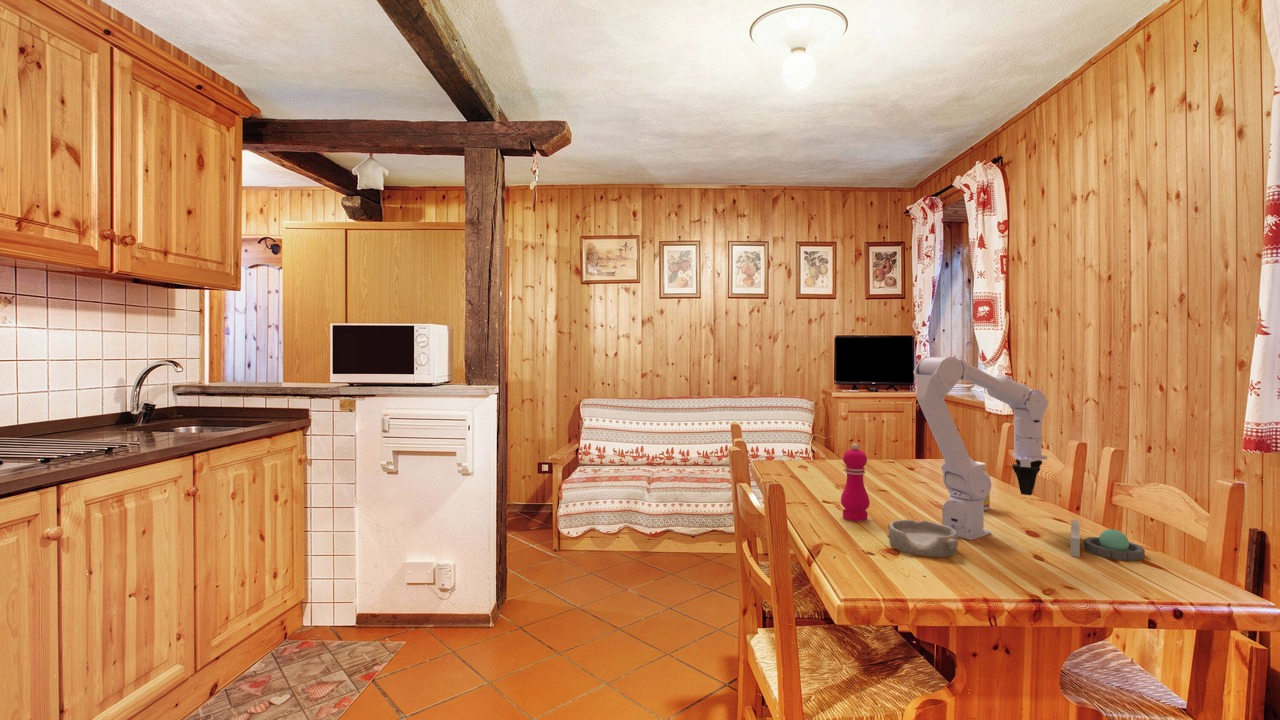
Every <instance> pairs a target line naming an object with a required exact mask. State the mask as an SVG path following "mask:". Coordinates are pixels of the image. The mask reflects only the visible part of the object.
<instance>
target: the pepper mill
mask: <svg viewBox="0 0 1280 720" xmlns="http://www.w3.org/2000/svg"><path fill="white" fill-rule="evenodd" d="M842 460H843V461H842V462H843V463H844V465H845V467H844V470H845V471H844V472H845V474H846V482H845V486H844V489H843V491H842V493H841V497H840V504H841V505H842V507H843V508H844V509H843V510H842V518H843V519H844V520H847V521H851V522H864V521H867V520H868V518H869V517H868V516H869V515H868V513H869V512H867V511H866V510H868V508H869V507H870V498H869V494H868V492H867V490H866V487H865V484H864V482H865V481H864V474H866V472H865V471H866V468H865V466H866V465H867V462H868V456H867V454H866V453H865V452H864V451H863V450H861V449H859V445H858V443H852V444H851V449H848V450H846V451H845V452H844V454H843V456H842Z"/></svg>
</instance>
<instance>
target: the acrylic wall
mask: <svg viewBox="0 0 1280 720" xmlns="http://www.w3.org/2000/svg"><path fill="white" fill-rule="evenodd" d="M1080 528H1081V527H1080V520H1075V519H1072V520H1071V527H1070V556H1071V557H1075V558H1080V555H1081V554H1080V551H1081V550H1080V547H1081V546H1080V543H1081V542H1080V540H1081V539H1080V536H1081V534H1080Z"/></svg>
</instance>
